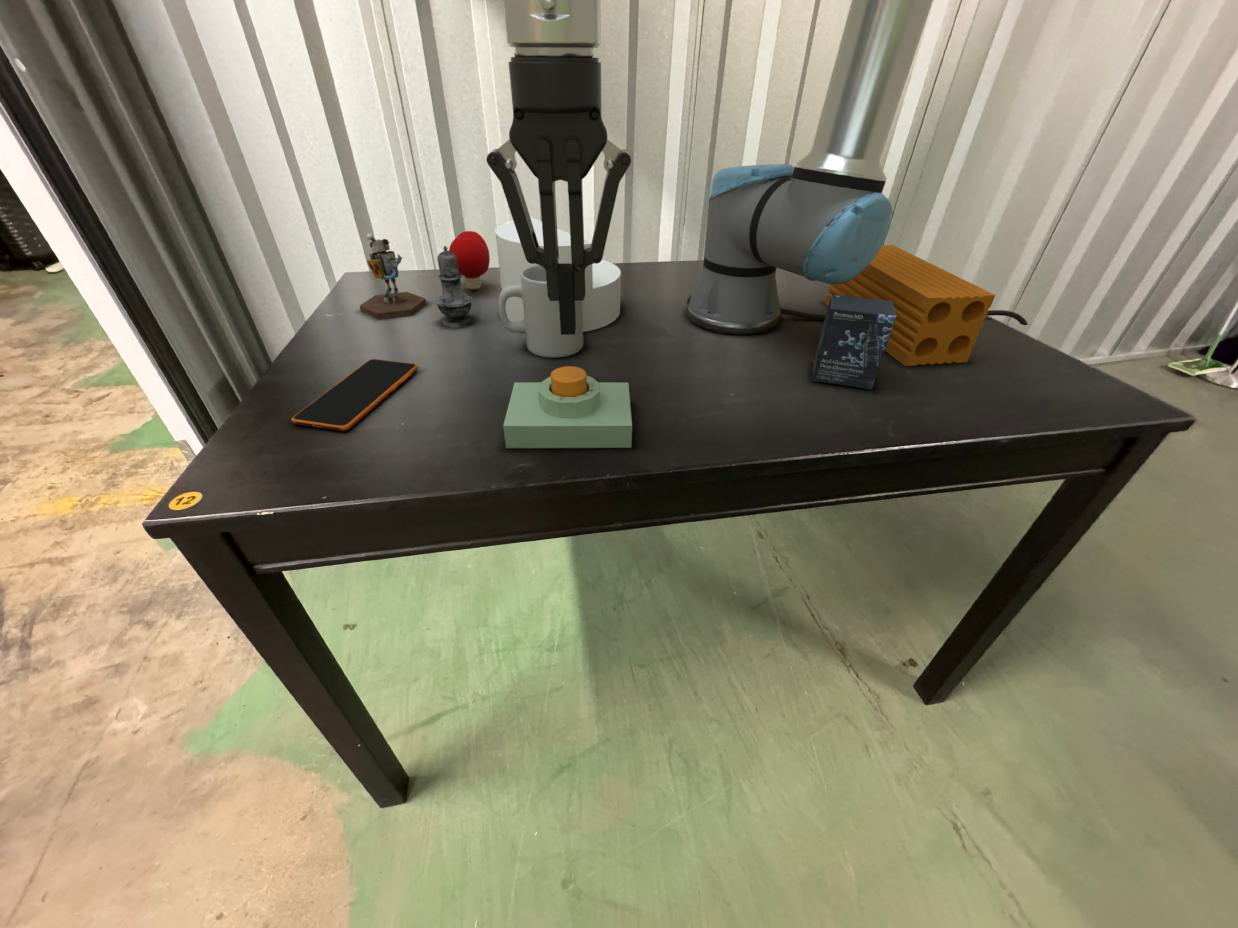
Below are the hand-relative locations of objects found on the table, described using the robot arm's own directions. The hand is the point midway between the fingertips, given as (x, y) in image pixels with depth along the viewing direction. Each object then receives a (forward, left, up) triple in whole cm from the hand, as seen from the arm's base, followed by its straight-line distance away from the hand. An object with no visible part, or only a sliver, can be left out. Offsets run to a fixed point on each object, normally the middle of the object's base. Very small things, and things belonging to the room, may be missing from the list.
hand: (568, 329), depth 59 cm
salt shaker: (+20, -32, -12) cm, 40 cm away
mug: (+5, -22, -12) cm, 25 cm away
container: (+3, -37, -12) cm, 39 cm away
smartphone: (+27, -7, -12) cm, 30 cm away
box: (-37, -12, -12) cm, 40 cm away
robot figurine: (+32, -38, -12) cm, 51 cm away
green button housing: (0, 0, -12) cm, 12 cm away
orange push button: (0, 0, -7) cm, 7 cm away
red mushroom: (+20, -47, -12) cm, 52 cm away
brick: (-51, -29, -12) cm, 60 cm away
